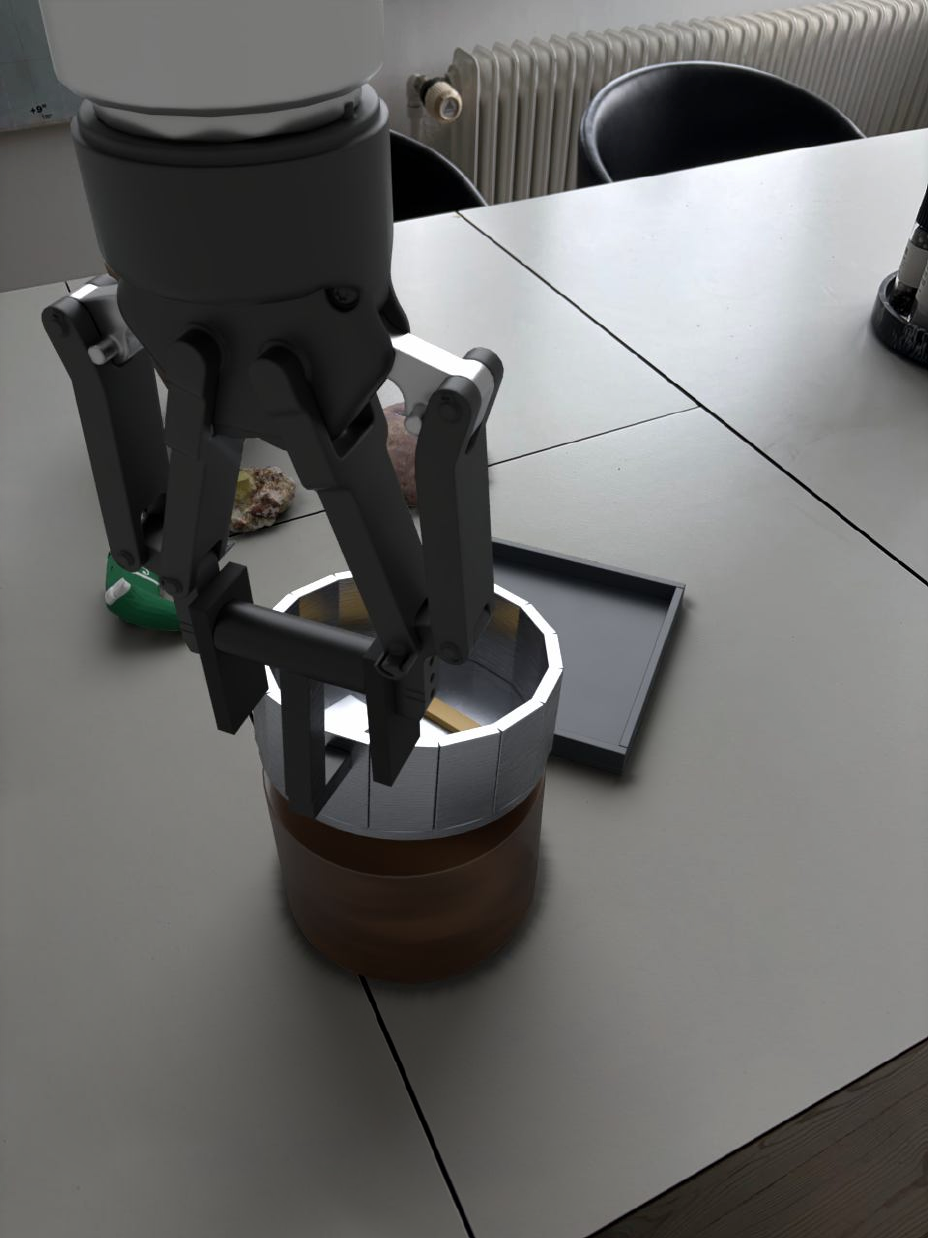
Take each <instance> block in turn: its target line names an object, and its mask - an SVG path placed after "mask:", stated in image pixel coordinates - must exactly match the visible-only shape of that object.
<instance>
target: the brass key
mask: <svg viewBox="0 0 928 1238" xmlns="http://www.w3.org/2000/svg"><path fill="white" fill-rule="evenodd" d="M424 715H426V716H427V717H429V718H430V719H432V720H434V721H435V722H437V723H438V724H440V725H442V726H443V727H445V728H446V729H448V730H450V731H451V732H453V733H456V732H460V731H464V730H469V729H473V728H477V727H481V726H482V725H480V724H478V723H477V722H475V721H473V720H472V719H470V718H468V717H467V716H465V715H463V714H462V713H460V712H459V711H457V710H455V709H454V708H452V707H450V706H449V705H447V704H445V703H444V702H442V701H440V700H439V699H437V698H435V697H434V699H433V700H432V702H431V704H430V706H429V707H428V709H427V711H426V713H425V714H424Z"/></svg>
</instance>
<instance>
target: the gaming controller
mask: <svg viewBox="0 0 928 1238" xmlns="http://www.w3.org/2000/svg"><path fill="white" fill-rule="evenodd" d="M104 603H105V607H106V608H107V610H109V611H110V612H111V613H112V614H114V616H116V617H118V620H120V621H122V622H124V623H126V622H127V623H129V624H132V625H134V626H135V625H136V626H138V627H143V628H148V629H152V630H158V631H159V630H160V631H166V632H167V631H169V632H181V628H180V624H179V621H180V620H178V616H177V612H176V608H175V604H174V600H170V599H168V598H164V597H162V596H161V585H160V583H159V579H158V576H157V575H156V574H154V573H152V572H150V571H149V570H147V569H145V568H143V567H142V568H141V569H140V570H139V571H138V572H135V573H133V572H128V571H126V570H124V569H122V568H121V567H120V566H119V565H117V563H116V562H115V561H114V559H113V557H112V555H111V551H110V547H108V555H107V564H106V573H105V593H104Z"/></svg>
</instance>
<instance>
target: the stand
mask: <svg viewBox="0 0 928 1238" xmlns="http://www.w3.org/2000/svg"><path fill="white" fill-rule="evenodd" d="M547 768H548V767H547V765H546V766H545V769H544V772H543V774H542V776H541V778H540V780H539V781H538V783H537V785H536V787H535V788H534V789H533V790H532V791H531V793H530V794H529V795H528V796H527V797H526V798H525V800H523V801H522V802H521V803H520V804H519V805H518V806H516V807H515V808H514V809H513V810H511V811H510V812H508V813H507V814H505V815H504V816H502V817H500V818H499V819H497V820H495V821H493V822H491V823H489V824H486V825H484V826H482V827H480V828H477V829H474V830H471V831H468V832H465V833H461V834H457V835H452V836H448V837H443V838H436V839H427V840H403V841H400V840H387V839H377V838H371V837H366V836H360V835H356V834H353V833H349V832H346V831H342V830H339V829H336V828H334V827H331V826H329V825H326V824H324V823H321V822H319V821H318V820H316V819H312V818H309V817H306V816H303V815H300V814H297V813H294V812H291V811H289V806H288V800H287V799H286V798H284V797H283V796H282V795H281V794H280V793H279V792H278V790H277V789H276V788H275V786H274V785H273V784H272V782H271V781H270V780H269V778H268V776H267V774H266V772H265V770H264V768H263V767H262V768H261V769H262V770H261V771H262V772H261V774H262V785H263V790H264V791H263V792H264V795H265V800H266V804H267V809H268V814H269V818H270V819H269V820H270V824H271V828H272V833H273V837H274V842H275V846H276V851H277V855H278V860H279V865H280V869H281V874H282V879H283V883H284V887H285V888H284V889H285V893H286V896H287V901H288V904H289V908H290V912H291V913H292V916H293V918H294V920H295V922H296V924H297V926H298V928H299V929H300V930H301V932H302V934H303V935H304V936H305V938H306V939H307V940H308V941H309V942H310V944H311V945H312V946H313V947H314V948H315V949H316V950H317V951H318V952H319V953H321V954H322V955H323V956H324V957H326V958H327V959H328V960H329V961H331V962H333V963H334V964H336V965H338V966H339V967H341V968H343V969H345V970H347V971H349V972H352V973H354V974H356V975H359V976H361V977H362V976H363V977H366V978H368V979H372V980H377V981H381V982H382V981H383V982H388V983H401V984H414V983H426V982H427V983H428V982H432V981H437V980H441V979H446V978H448V977H452V976H454V975H458V974H460V973H463V972H465V971H467V970H469V969H471V968H473V967H475V966H477V965H479V964H480V963H482V962H484V961H485V960H487V959H488V958H490V957H491V956H492V955H494V954H495V953H496V952H497V951H498V950H499V949H501V948H502V947H503V946H504V945H505V944H506V943H507V942H508V941H509V940H510V939H511V937H512V936H513V935H514V934H515V933H516V931H517V930H518V929H519V927H520V925H521V924H522V922H523V921H524V919H525V917H526V915H527V913H528V911H529V908H530V907H531V904H532V900H533V897H534V893H535V890H536V883H537V876H538V865H539V864H538V863H539V855H540V843H541V832H542V822H543V812H544V811H543V810H544V800H545V799H544V798H545V790H546V777H547Z"/></svg>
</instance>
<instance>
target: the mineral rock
mask: <svg viewBox="0 0 928 1238" xmlns="http://www.w3.org/2000/svg"><path fill="white" fill-rule="evenodd" d="M296 489H297V483H296V481H295V480H294V479H293V478H292V477H291V476H290V475H286V474H285V473H284V472H283V470H282V468H280V467H277V466H275V465H272V466H270V465H268V466H265V467H263V468H262V469H261V468H260V467H257V466H256V467H255V466H253V467H252V466H250V468H245V467H240V470H239V476H238V482H237V488H236V494H235V500H234V506H233V512H232V517H231V523H230V529H229V531H231V532H233V533H241V534H244V533H248V532H257V531H258V530H259V529H262V528H263V527H271V526H273V525H274V524H275V522H276V518H277V517H278V516H279V514H281V513H282V512H284V511H285V510H287V509H288V508H289V507H290V506H291V505H292V503H293V500H294V499H295V498H296V494H295V493H296Z"/></svg>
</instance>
